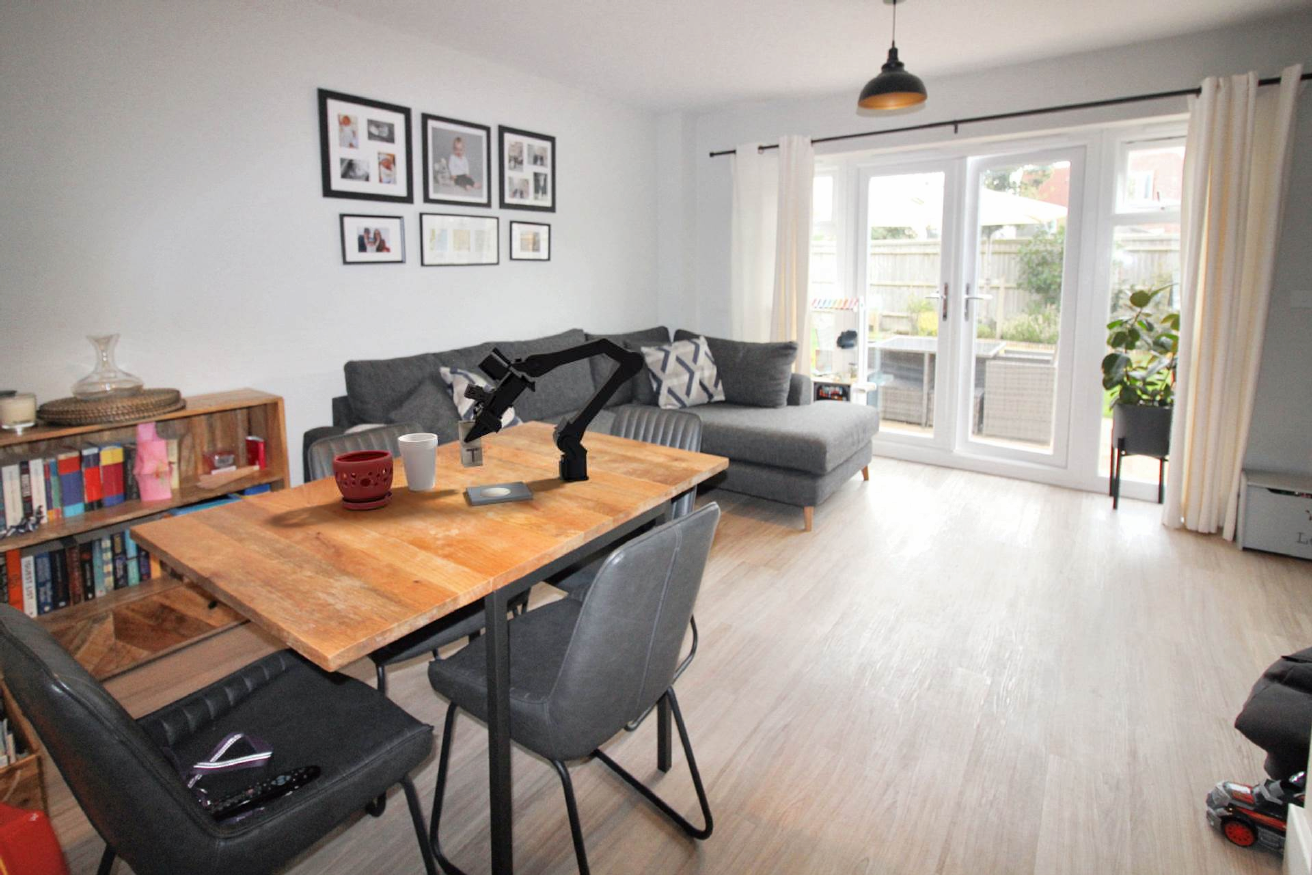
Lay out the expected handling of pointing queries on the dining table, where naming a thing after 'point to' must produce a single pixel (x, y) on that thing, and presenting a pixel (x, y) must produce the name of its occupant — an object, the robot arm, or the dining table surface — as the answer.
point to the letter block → (469, 446)
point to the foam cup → (419, 459)
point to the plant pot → (364, 478)
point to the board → (498, 493)
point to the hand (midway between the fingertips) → (464, 439)
